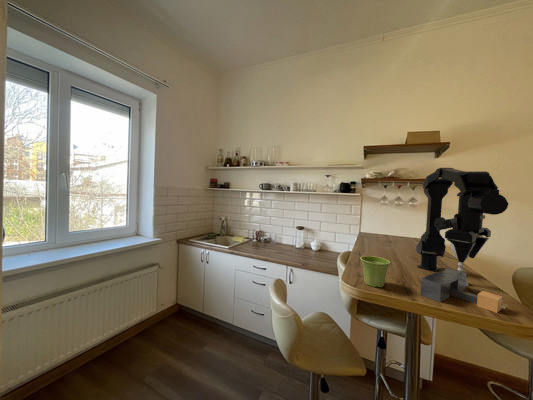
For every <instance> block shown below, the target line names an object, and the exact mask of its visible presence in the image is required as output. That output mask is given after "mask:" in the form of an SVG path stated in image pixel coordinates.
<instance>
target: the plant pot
mask: <svg viewBox="0 0 533 400" xmlns="http://www.w3.org/2000/svg"><path fill="white" fill-rule="evenodd" d="M360 260H361V265H362V270H363V280H364V283H365V284H366V285H368V286H370V287H374V288H375V287H379V288H382V287H384V286H385V283H386V280H385V279H386V278H387V271H388V268H389V266H390V264H391V261H390V260H388V259H386V258H383V257H379V256H373V255H372V256H371V255H363V256H360Z"/></svg>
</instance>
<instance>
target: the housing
mask: <svg viewBox="0 0 533 400" xmlns="http://www.w3.org/2000/svg"><path fill="white" fill-rule="evenodd" d="M466 279H467V272H464V271H463V272H460V271H458V270H457V269H456V270H455V269H453V268H452V269H451V268H446V269H443V270H438V271H437V272H433V273H432V274H431V273H430V274H429V275H426V276H422V277H421V281H420V282H421V284H420V296H423V297H424V298H425V297H426V298H427V299H430V300H433V301H436V302H439V303H441V302H443V301H445V300H447V299H449V298H450V295H449V294H450V287H452V288H455V289H458V290H462V291H465V289H466V286H465V285H466Z"/></svg>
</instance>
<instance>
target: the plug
mask: <svg viewBox="0 0 533 400" xmlns="http://www.w3.org/2000/svg"><path fill="white" fill-rule="evenodd" d="M449 296H450V297H454V298H457V299H461V300H463V301H466V302H469V303H472V304H475V305H476V306H477V307H479V308H482V309H485V310H487V311H490V312H494V313H496V314H498V312H500V311H501V310H502V309H506V308H507V307H508V304H507V303H503V296H501V295H498V294H494V293H492V292H488V291H484V290H482V291H479V293H477V294H475V293H471V292H468V291H465V290H458V289H455V288H452V287H450V294H449Z"/></svg>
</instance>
